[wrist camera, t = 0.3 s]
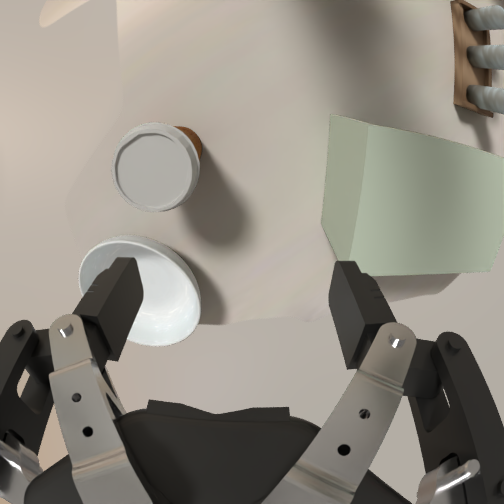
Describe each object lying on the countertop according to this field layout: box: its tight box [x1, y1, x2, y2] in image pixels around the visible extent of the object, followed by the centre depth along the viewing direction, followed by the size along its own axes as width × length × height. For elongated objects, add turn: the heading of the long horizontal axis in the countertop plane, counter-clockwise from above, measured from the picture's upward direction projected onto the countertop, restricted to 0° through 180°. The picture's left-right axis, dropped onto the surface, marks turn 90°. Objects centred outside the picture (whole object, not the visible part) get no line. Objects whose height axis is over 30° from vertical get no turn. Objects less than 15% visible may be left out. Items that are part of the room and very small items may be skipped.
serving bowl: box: [79, 235, 201, 346], centre depth 44 cm, size 21×21×7 cm
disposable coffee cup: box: [111, 122, 202, 212], centre depth 31 cm, size 10×10×12 cm
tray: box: [450, 0, 504, 118], centre depth 22 cm, size 19×7×9 cm, turn 0°
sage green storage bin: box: [321, 114, 504, 276], centre depth 31 cm, size 16×24×14 cm, turn 90°
